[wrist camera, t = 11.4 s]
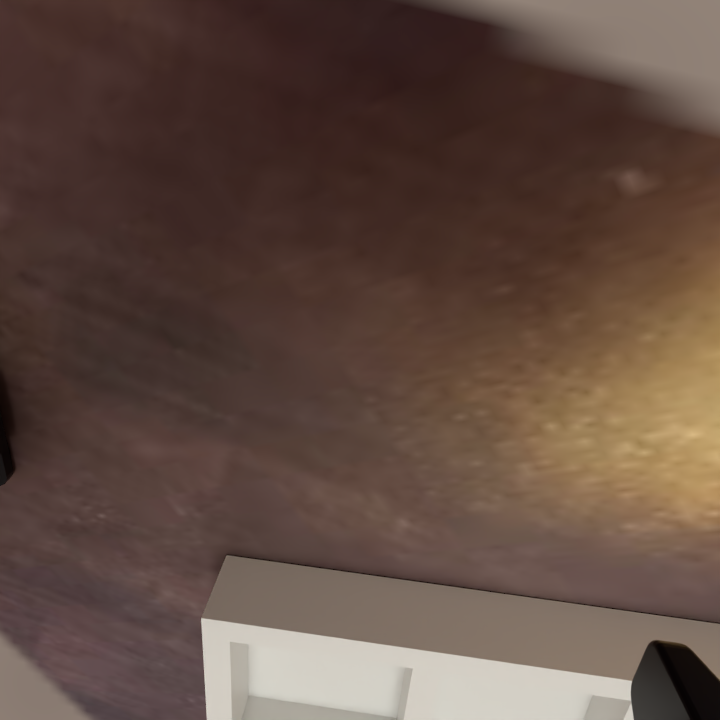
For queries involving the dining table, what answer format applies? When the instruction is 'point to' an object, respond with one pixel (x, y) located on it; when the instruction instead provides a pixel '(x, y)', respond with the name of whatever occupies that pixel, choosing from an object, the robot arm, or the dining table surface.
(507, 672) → the condiment rack
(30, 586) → the dining table surface
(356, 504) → the dining table surface
